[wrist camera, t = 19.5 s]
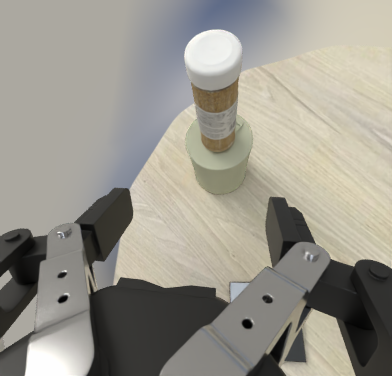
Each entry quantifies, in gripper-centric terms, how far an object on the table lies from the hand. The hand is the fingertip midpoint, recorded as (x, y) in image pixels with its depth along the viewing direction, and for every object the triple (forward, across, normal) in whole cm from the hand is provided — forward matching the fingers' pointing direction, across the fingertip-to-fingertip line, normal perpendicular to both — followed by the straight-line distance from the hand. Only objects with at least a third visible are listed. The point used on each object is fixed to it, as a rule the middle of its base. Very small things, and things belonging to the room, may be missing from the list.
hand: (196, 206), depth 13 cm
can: (+28, 0, +10) cm, 29 cm away
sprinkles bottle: (+19, 0, +1) cm, 19 cm away
